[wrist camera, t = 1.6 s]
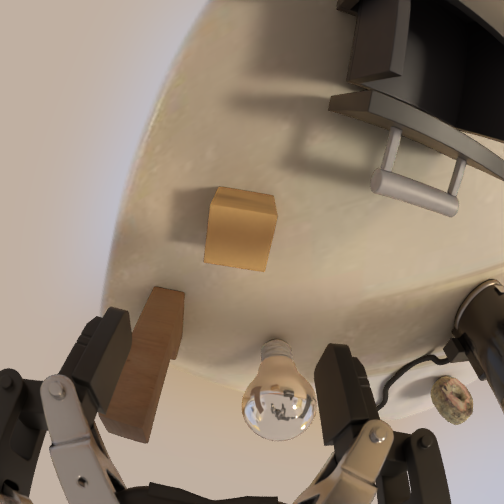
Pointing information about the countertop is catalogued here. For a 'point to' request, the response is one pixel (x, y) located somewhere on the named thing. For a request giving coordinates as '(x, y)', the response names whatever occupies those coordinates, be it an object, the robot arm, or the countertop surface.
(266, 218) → the cube
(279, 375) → the light bulb
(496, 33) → the dark drawer cabinet
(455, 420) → the stone ring
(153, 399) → the wooden block
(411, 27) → the pull-out drawer
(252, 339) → the countertop surface
